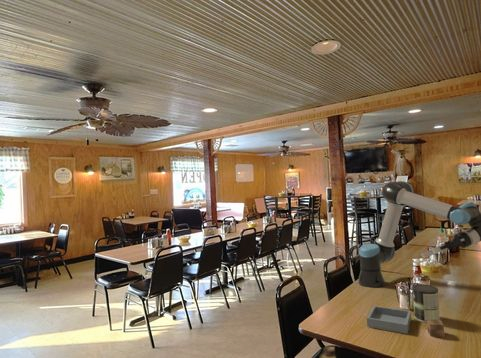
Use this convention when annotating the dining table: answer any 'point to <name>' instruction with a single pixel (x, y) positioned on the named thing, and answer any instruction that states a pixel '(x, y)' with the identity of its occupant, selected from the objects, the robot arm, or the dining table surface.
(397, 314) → the tray
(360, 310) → the dining table surface
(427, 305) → the coffee can
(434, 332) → the walnut block
